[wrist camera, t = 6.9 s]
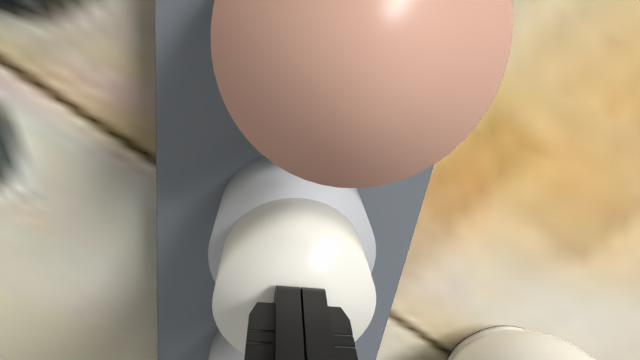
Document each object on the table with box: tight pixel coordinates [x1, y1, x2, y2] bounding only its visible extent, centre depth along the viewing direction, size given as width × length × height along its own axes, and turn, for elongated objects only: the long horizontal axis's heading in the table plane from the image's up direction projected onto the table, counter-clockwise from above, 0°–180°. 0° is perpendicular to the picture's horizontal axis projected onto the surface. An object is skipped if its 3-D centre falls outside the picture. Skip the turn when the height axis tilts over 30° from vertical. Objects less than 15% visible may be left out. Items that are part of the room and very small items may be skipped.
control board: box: [155, 0, 434, 360], centre depth 17 cm, size 23×11×5 cm, turn 171°
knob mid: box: [212, 198, 376, 354], centre depth 14 cm, size 5×5×2 cm
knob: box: [211, 0, 513, 188], centre depth 8 cm, size 5×5×2 cm
